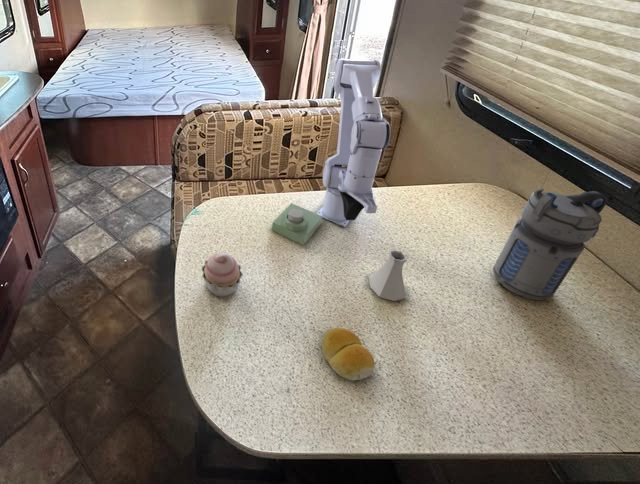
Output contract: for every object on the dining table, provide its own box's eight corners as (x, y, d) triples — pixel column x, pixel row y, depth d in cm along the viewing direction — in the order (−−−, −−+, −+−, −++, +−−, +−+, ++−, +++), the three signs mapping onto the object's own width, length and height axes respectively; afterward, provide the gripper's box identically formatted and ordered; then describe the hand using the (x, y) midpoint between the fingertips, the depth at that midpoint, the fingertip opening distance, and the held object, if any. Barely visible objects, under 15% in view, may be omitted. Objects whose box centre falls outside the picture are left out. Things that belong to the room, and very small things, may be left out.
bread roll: (347, 330, 74) (351, 317, 73) (380, 375, 67) (385, 361, 65) (310, 340, 73) (313, 327, 71) (340, 387, 65) (344, 373, 63)
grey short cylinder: (291, 212, 101) (292, 206, 100) (304, 218, 98) (305, 212, 97) (285, 219, 98) (286, 213, 97) (298, 225, 96) (299, 219, 95)
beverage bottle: (575, 299, 78) (642, 205, 67) (517, 306, 77) (574, 212, 66) (529, 263, 87) (580, 174, 76) (476, 268, 86) (520, 180, 75)
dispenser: (290, 210, 108) (292, 197, 106) (320, 223, 102) (323, 210, 100) (271, 229, 101) (273, 217, 99) (303, 245, 95) (305, 232, 93)
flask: (396, 276, 86) (407, 243, 81) (411, 302, 79) (425, 269, 75) (363, 274, 86) (373, 242, 82) (376, 301, 80) (387, 268, 75)
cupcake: (198, 299, 82) (198, 267, 78) (203, 267, 90) (204, 236, 86) (240, 307, 80) (243, 274, 75) (242, 273, 88) (245, 242, 83)
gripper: (330, 155, 90) (321, 200, 96) (358, 189, 77) (345, 239, 83) (359, 154, 89) (349, 199, 96) (392, 189, 76) (377, 239, 83)
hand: (349, 218), depth 89 cm, fingers closed
